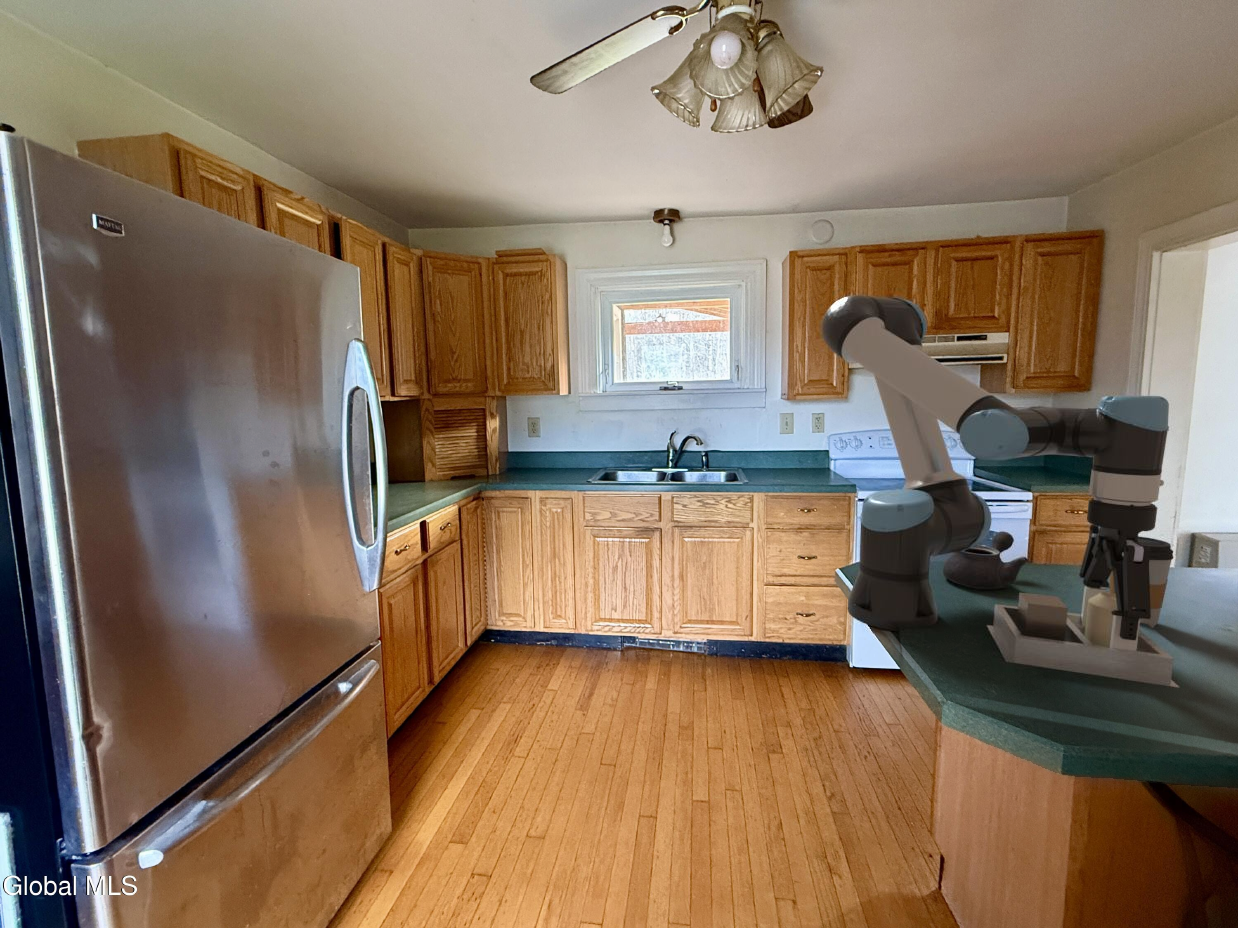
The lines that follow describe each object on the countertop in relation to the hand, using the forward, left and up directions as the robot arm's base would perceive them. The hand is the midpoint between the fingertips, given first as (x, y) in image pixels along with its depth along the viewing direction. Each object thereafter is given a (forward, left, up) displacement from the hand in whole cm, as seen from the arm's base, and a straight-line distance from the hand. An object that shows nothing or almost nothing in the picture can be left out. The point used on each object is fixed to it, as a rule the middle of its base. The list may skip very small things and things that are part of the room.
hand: (1105, 641), depth 84 cm
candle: (0, 0, -3) cm, 3 cm away
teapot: (-8, +37, -4) cm, 38 cm away
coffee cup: (+11, +21, -4) cm, 24 cm away
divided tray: (-4, 0, -3) cm, 5 cm away
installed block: (-8, 0, -2) cm, 9 cm away
